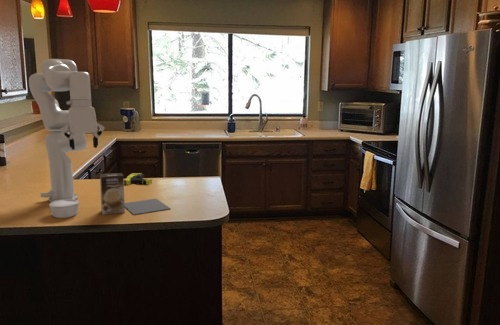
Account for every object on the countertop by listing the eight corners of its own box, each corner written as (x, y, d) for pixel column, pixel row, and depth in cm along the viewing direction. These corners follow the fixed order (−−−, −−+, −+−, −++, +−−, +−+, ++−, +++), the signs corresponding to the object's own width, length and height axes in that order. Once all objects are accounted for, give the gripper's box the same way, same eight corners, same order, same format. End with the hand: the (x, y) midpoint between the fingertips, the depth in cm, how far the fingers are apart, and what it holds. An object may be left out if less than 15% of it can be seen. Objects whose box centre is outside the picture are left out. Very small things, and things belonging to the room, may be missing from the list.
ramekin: (84, 211, 179) (83, 199, 178) (72, 219, 168) (71, 206, 167) (58, 210, 179) (57, 198, 178) (44, 218, 169) (43, 206, 168)
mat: (133, 215, 174) (133, 214, 174) (121, 204, 189) (121, 203, 189) (170, 209, 182) (170, 208, 182) (156, 199, 197) (156, 198, 197)
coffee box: (102, 215, 174) (100, 177, 170) (101, 210, 179) (99, 173, 176) (125, 212, 177) (123, 175, 174) (123, 208, 183) (121, 172, 180)
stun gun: (157, 173, 242) (131, 172, 242) (149, 180, 223) (121, 180, 223) (157, 178, 243) (131, 177, 243) (150, 185, 224) (121, 185, 224)
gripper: (58, 104, 157) (62, 151, 160) (106, 103, 166) (108, 147, 169) (55, 103, 163) (59, 148, 166) (101, 103, 172) (104, 145, 175)
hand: (84, 148), depth 168 cm, fingers open, 7 cm apart
